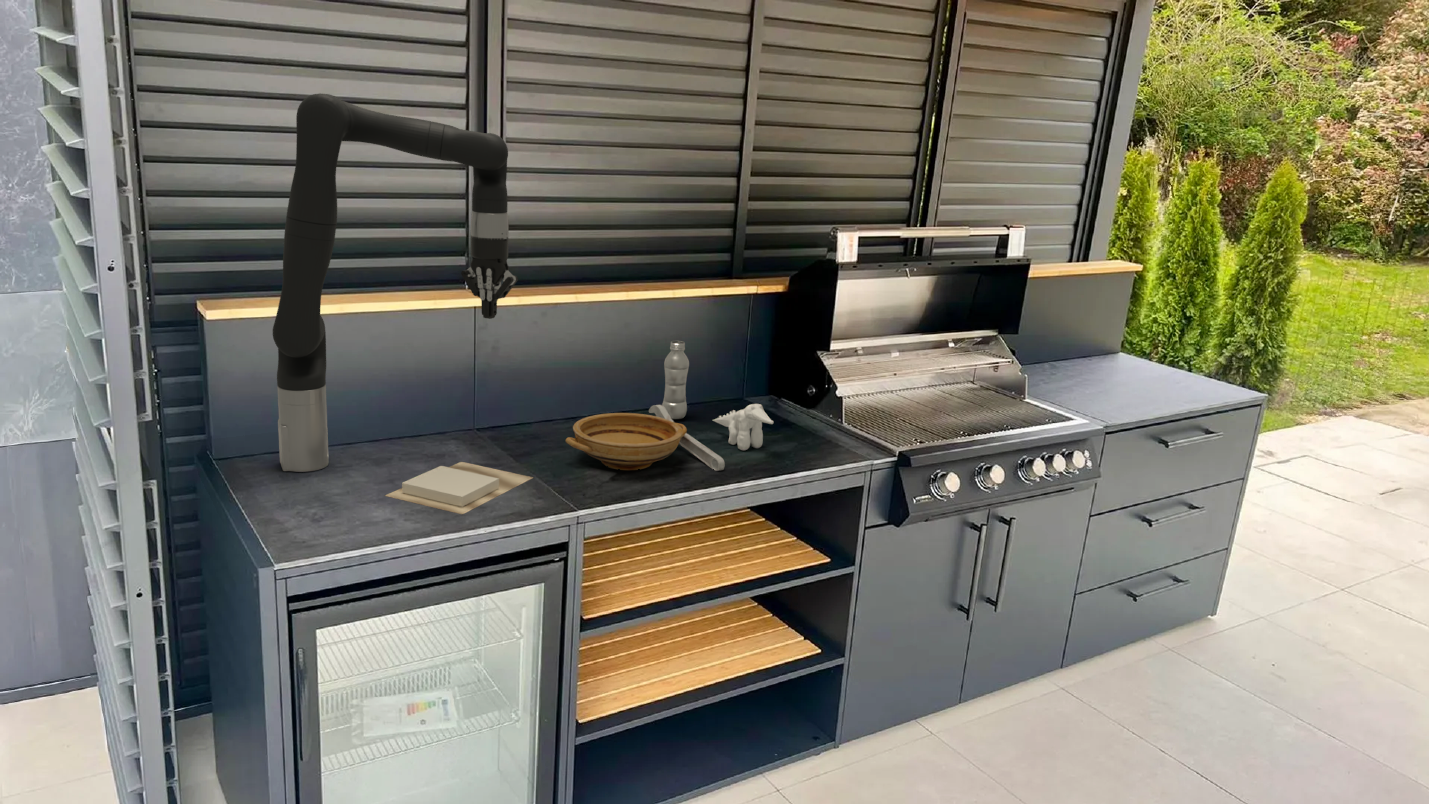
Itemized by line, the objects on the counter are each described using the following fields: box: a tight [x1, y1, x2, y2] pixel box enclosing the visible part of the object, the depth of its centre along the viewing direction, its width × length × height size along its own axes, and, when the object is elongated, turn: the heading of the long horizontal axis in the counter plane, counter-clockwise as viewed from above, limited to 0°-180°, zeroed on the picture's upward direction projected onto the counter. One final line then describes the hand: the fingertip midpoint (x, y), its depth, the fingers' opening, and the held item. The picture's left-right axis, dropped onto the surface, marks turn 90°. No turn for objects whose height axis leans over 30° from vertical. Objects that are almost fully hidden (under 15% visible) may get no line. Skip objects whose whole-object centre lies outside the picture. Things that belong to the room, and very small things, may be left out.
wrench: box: [648, 404, 726, 472], centre depth 242 cm, size 8×2×30 cm
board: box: [384, 461, 534, 515], centre depth 208 cm, size 24×18×2 cm
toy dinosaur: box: [712, 403, 774, 451], centre depth 250 cm, size 7×24×11 cm, turn 35°
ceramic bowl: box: [565, 412, 688, 471], centre depth 232 cm, size 30×24×8 cm
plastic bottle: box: [661, 340, 690, 420], centre depth 266 cm, size 6×7×20 cm
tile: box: [401, 465, 499, 507], centre depth 205 cm, size 14×2×12 cm
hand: (489, 317), depth 218 cm, fingers closed
